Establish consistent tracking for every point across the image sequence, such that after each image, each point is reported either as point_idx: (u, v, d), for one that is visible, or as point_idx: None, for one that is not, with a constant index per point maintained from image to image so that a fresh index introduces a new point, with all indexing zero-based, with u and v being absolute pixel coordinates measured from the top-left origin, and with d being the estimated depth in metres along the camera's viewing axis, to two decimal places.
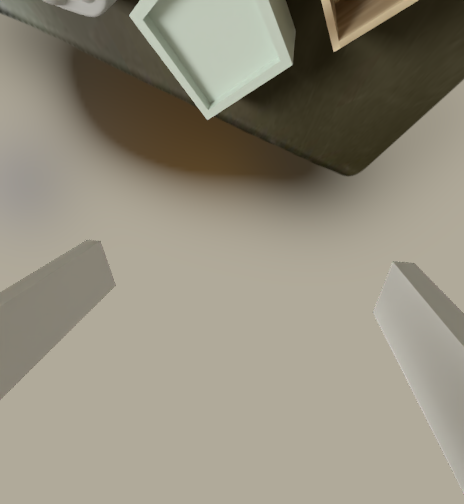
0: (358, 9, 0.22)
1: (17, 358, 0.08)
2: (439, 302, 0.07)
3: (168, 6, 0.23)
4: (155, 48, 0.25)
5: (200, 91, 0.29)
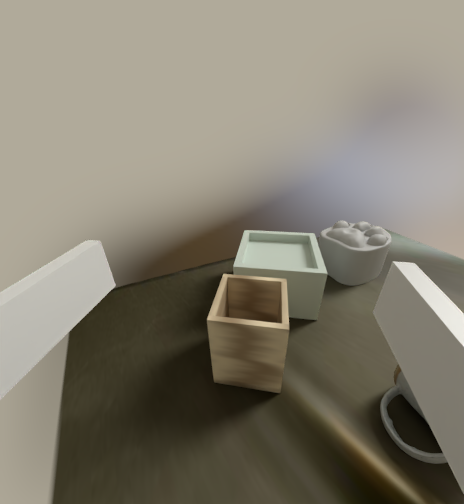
0: (225, 312, 0.27)
1: (17, 358, 0.08)
2: (439, 302, 0.07)
3: (304, 249, 0.38)
4: (295, 233, 0.40)
5: (260, 239, 0.41)
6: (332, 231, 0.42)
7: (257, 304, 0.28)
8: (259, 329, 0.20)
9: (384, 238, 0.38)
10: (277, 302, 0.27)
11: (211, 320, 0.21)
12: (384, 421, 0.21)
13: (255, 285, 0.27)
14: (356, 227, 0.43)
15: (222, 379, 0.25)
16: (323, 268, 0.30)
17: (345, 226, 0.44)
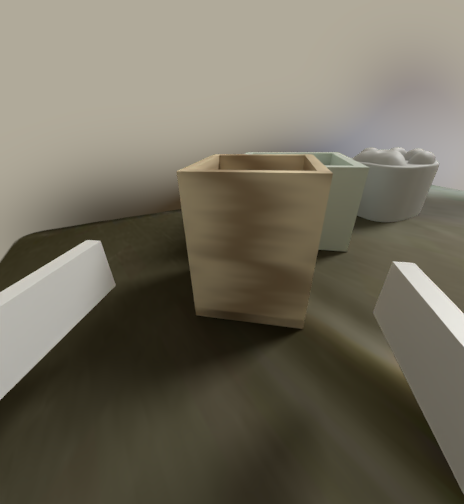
0: None
1: (17, 358, 0.08)
2: (439, 302, 0.07)
3: None
4: (313, 152, 0.31)
5: None
6: (360, 154, 0.32)
7: None
8: (273, 182, 0.11)
9: (433, 155, 0.29)
10: None
11: (185, 172, 0.11)
12: None
13: (263, 167, 0.17)
14: None
15: (209, 308, 0.16)
16: (361, 165, 0.21)
17: None
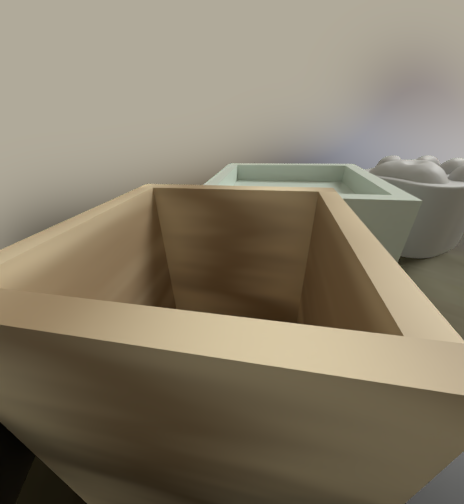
0: (148, 293, 0.09)
1: None
2: None
3: (337, 187, 0.20)
4: (319, 164, 0.23)
5: (255, 177, 0.24)
6: (381, 165, 0.24)
7: (244, 274, 0.10)
8: (217, 383, 0.03)
9: None
10: (300, 266, 0.09)
11: None
12: None
13: (236, 212, 0.09)
14: None
15: None
16: (405, 194, 0.13)
17: None
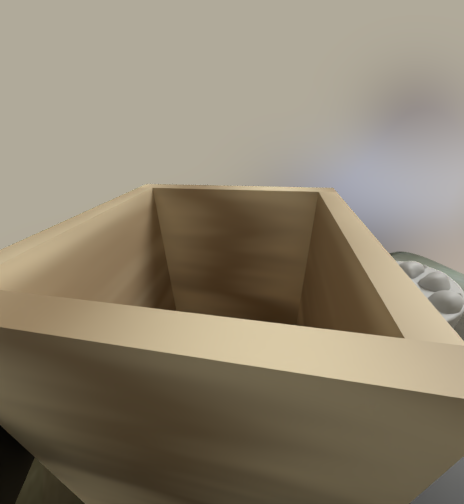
0: (148, 293, 0.09)
1: None
2: None
3: None
4: None
5: None
6: None
7: (244, 274, 0.10)
8: (216, 385, 0.03)
9: (461, 300, 0.22)
10: (300, 267, 0.09)
11: None
12: None
13: (236, 212, 0.09)
14: None
15: None
16: None
17: None
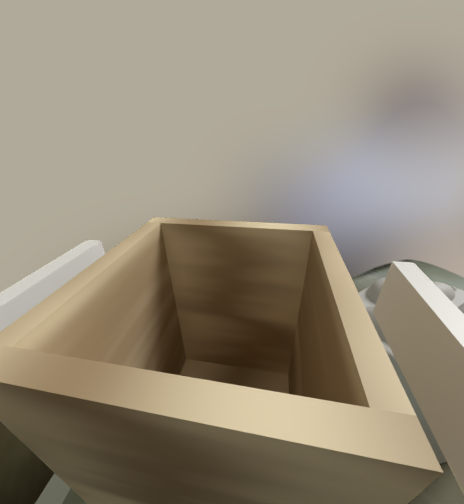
0: (156, 320, 0.10)
1: None
2: (438, 302, 0.07)
3: None
4: None
5: None
6: None
7: (244, 299, 0.11)
8: (225, 443, 0.03)
9: None
10: (297, 294, 0.10)
11: None
12: None
13: (237, 246, 0.10)
14: None
15: None
16: None
17: None
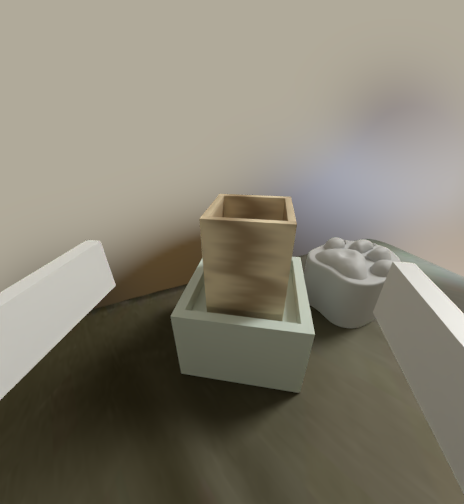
0: None
1: (17, 358, 0.08)
2: (439, 302, 0.07)
3: None
4: None
5: None
6: (323, 253, 0.31)
7: None
8: (261, 227, 0.17)
9: None
10: None
11: (205, 219, 0.18)
12: None
13: (255, 205, 0.24)
14: (355, 247, 0.33)
15: (216, 306, 0.22)
16: (309, 323, 0.19)
17: (340, 245, 0.33)
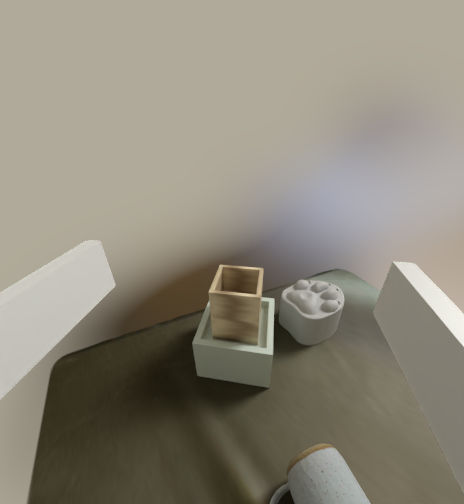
0: None
1: (17, 358, 0.08)
2: (439, 302, 0.07)
3: (263, 316, 0.42)
4: None
5: None
6: (291, 294, 0.45)
7: (243, 286, 0.40)
8: (241, 298, 0.32)
9: (335, 305, 0.42)
10: (257, 285, 0.39)
11: (211, 292, 0.33)
12: None
13: (242, 272, 0.38)
14: (314, 288, 0.47)
15: (218, 336, 0.37)
16: (271, 348, 0.34)
17: (304, 286, 0.48)
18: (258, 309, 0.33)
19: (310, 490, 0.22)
